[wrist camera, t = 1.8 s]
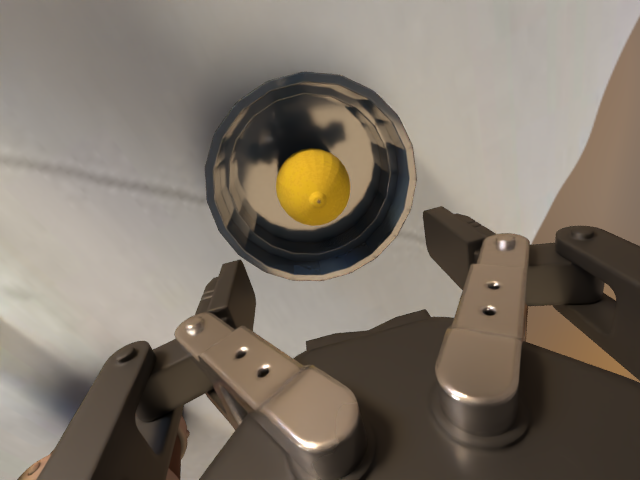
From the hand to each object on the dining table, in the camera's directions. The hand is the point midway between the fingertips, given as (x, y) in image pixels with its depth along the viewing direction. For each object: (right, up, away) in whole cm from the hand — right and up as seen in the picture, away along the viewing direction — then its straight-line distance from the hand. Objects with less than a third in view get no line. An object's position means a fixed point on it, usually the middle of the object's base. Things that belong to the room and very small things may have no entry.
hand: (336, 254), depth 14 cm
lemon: (-2, +6, +14) cm, 16 cm away
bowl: (-2, +6, +15) cm, 16 cm away
